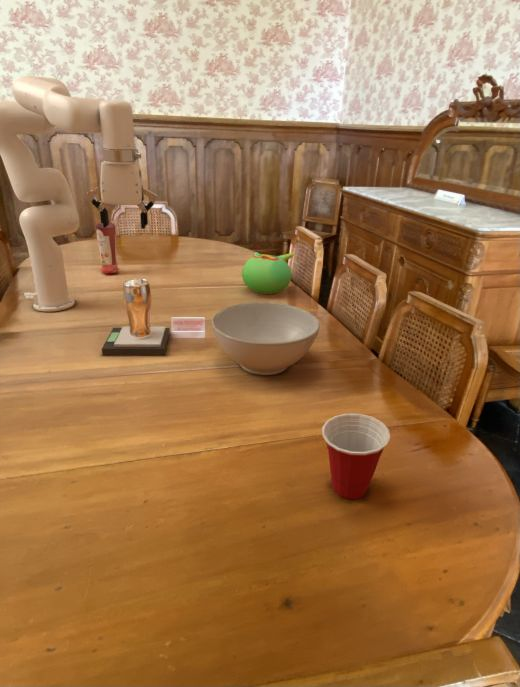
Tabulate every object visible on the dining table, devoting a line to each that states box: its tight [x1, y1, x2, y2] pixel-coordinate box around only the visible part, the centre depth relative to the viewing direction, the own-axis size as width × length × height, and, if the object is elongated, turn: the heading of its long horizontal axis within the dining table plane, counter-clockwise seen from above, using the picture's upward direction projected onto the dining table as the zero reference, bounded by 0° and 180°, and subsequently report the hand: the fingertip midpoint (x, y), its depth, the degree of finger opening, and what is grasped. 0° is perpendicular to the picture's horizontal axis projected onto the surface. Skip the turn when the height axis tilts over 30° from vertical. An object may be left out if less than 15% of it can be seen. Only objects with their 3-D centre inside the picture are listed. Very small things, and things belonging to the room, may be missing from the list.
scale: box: [101, 325, 171, 356], centre depth 129 cm, size 16×14×3 cm
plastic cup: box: [321, 412, 391, 500], centre depth 78 cm, size 11×11×12 cm
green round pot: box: [241, 252, 295, 295], centre depth 170 cm, size 18×17×15 cm
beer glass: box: [122, 278, 152, 339], centre depth 125 cm, size 7×7×15 cm
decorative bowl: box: [210, 301, 321, 376], centre depth 119 cm, size 27×27×12 cm
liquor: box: [95, 200, 120, 276], centre depth 183 cm, size 7×7×28 cm
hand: (125, 227), depth 123 cm, fingers open, 9 cm apart
